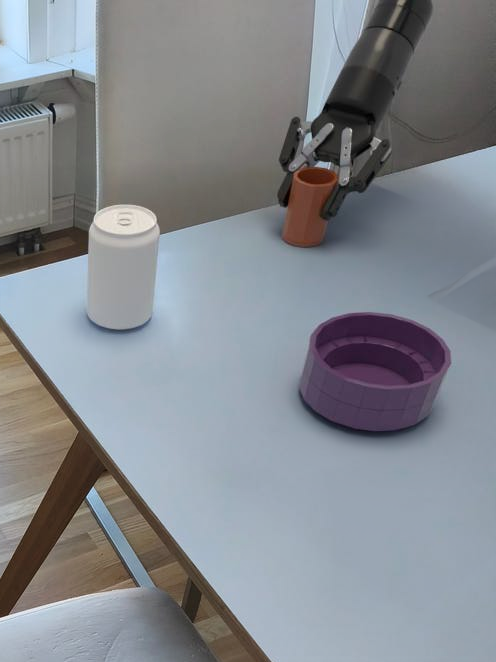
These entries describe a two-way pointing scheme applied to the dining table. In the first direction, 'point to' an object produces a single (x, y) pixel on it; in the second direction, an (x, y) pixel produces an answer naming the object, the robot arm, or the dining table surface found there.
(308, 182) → the cup
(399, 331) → the bowl
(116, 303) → the beverage can
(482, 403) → the dining table surface
